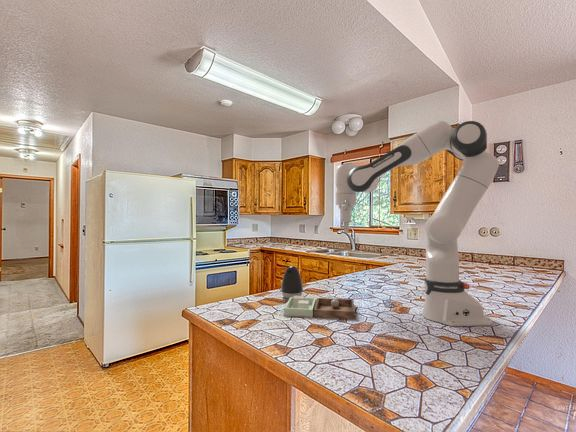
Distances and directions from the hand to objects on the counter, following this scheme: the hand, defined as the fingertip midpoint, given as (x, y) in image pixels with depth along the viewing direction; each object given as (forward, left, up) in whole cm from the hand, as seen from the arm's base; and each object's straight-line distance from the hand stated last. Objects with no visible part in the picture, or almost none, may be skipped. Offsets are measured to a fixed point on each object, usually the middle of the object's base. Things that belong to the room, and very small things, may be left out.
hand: (346, 232), depth 132 cm
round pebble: (+5, +10, -30) cm, 32 cm away
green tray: (+18, +15, -31) cm, 39 cm away
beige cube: (+20, +11, -30) cm, 38 cm away
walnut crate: (+5, +15, -31) cm, 35 cm away
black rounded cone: (+25, -3, -31) cm, 40 cm away
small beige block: (+17, +18, -30) cm, 39 cm away
